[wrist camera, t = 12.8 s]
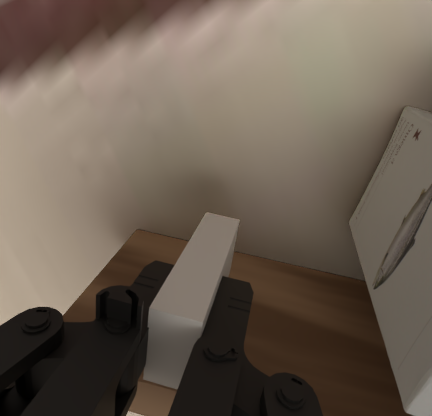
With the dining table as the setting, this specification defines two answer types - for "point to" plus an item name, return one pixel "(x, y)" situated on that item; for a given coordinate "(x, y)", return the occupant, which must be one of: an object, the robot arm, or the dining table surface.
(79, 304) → the shelf
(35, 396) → the robot arm
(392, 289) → the supplement box
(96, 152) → the dining table surface
